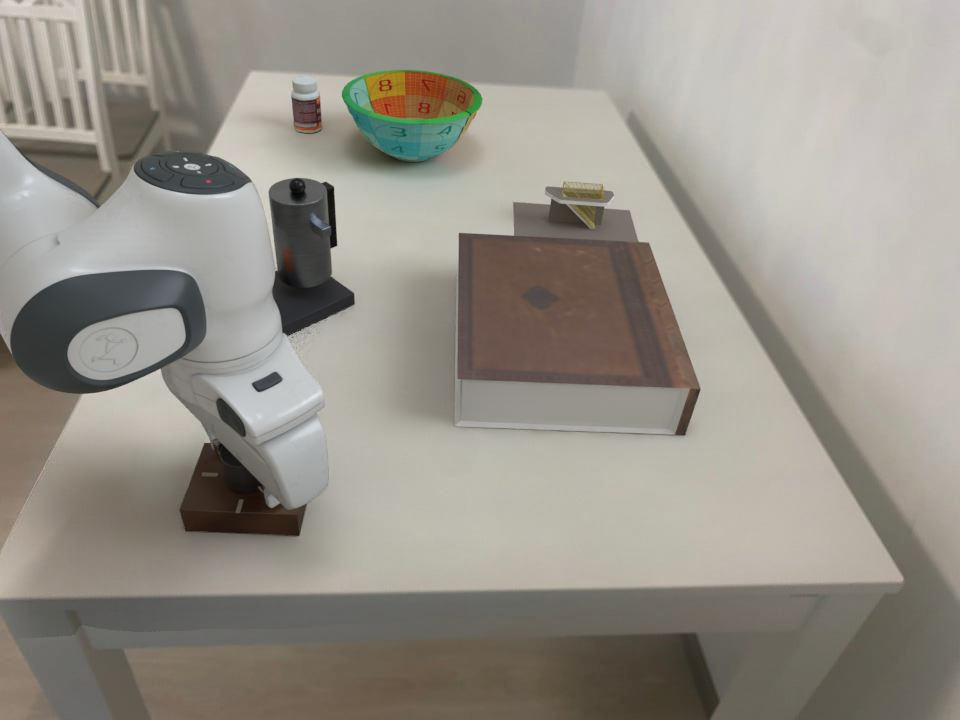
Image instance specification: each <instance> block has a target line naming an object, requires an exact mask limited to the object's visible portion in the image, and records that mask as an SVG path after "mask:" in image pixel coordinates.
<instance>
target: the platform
mask: <svg viewBox="0 0 960 720" xmlns="http://www.w3.org/2000/svg"><path fill="white" fill-rule="evenodd" d="M562 183H563V184H562V187H560V186H545V188H544V194H545V196H547V197H548V198H550V204H547V203H536V202H535V203H534V202H531V203H530V202H519V201H513V218H514V219H513V220H514V236H531V237H550V238H570V239H589V240H609V241H628V242H639V239H638V235H637V231H636V228H635V224H634V221H633V217H632V214H631V213H632V212H631V210H630V209H617V208H605V207H608V206H609V205H610V204H611V203H612V202H613V201H614V197H615V194H614V191H612V190H605V187H604V183H593V182H580V181H566V180H565V181H563V182H562Z"/></svg>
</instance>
